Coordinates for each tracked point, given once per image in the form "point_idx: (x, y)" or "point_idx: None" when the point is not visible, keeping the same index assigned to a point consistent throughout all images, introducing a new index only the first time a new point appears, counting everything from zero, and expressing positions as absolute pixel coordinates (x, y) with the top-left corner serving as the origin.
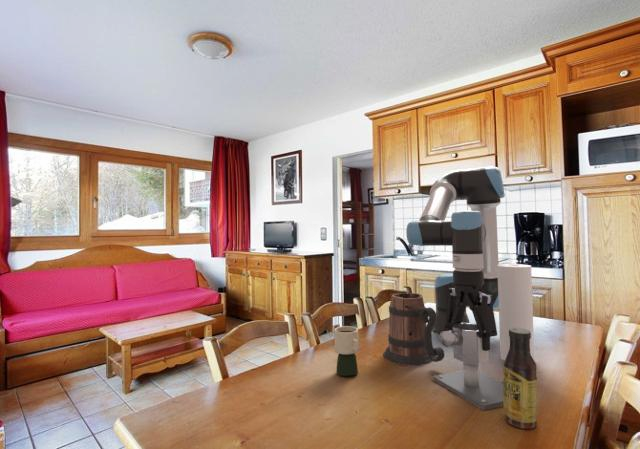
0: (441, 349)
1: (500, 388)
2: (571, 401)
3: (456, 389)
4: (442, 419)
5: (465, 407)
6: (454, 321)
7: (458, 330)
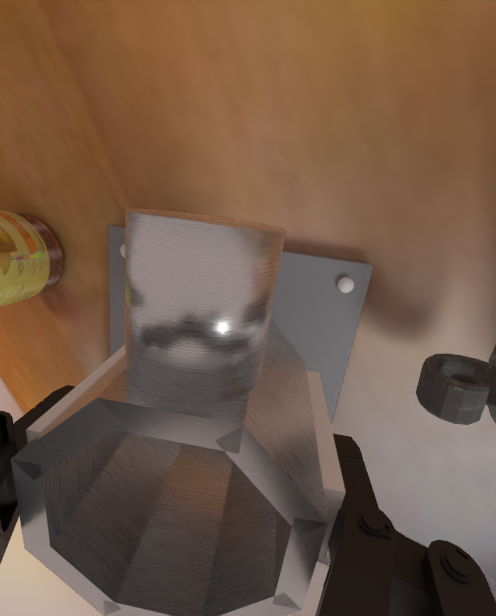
0: (442, 409)
1: None
2: None
3: None
4: (125, 35)
5: (154, 188)
6: (336, 566)
7: (155, 396)
